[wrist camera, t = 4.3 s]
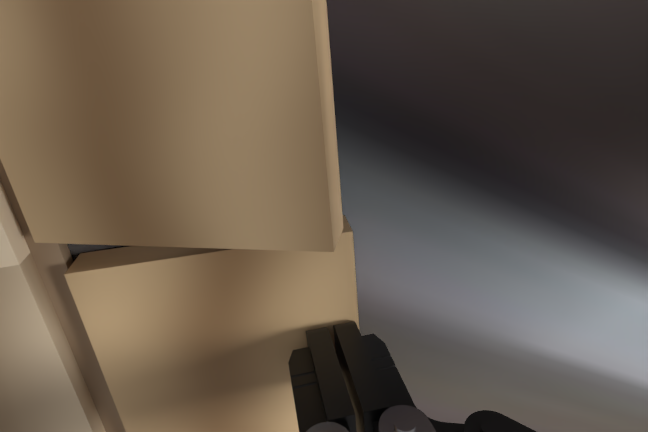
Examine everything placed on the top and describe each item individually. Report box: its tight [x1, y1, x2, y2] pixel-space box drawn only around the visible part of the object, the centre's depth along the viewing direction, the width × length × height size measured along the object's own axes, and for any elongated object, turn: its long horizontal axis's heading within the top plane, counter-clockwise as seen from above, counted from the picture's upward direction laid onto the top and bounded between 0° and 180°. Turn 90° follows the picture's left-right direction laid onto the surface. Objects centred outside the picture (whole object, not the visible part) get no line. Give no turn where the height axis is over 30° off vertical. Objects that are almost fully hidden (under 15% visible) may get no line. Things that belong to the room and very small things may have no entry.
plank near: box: [0, 0, 343, 252], centre depth 9 cm, size 8×8×1 cm
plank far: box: [64, 215, 359, 432], centre depth 14 cm, size 8×8×1 cm
